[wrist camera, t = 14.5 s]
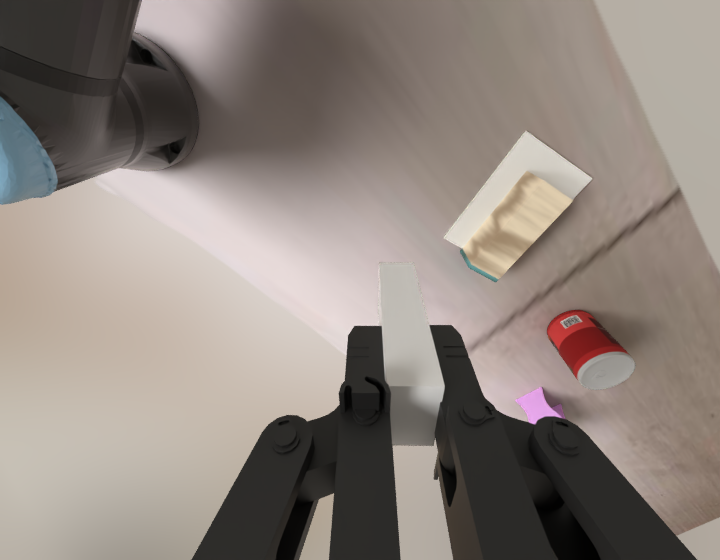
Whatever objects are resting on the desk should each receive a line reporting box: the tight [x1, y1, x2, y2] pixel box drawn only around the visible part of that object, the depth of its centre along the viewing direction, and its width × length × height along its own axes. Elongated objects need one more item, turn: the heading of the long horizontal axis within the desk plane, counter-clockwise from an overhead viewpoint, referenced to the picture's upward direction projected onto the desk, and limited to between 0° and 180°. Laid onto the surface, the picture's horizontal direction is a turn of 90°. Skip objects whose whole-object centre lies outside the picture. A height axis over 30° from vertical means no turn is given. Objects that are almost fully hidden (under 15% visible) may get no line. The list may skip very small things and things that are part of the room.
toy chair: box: [515, 387, 566, 424], centre depth 62 cm, size 8×9×15 cm
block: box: [460, 171, 573, 282], centre depth 44 cm, size 5×5×14 cm
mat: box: [444, 131, 592, 248], centre depth 45 cm, size 17×12×1 cm
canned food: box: [547, 310, 636, 390], centre depth 52 cm, size 8×8×11 cm
